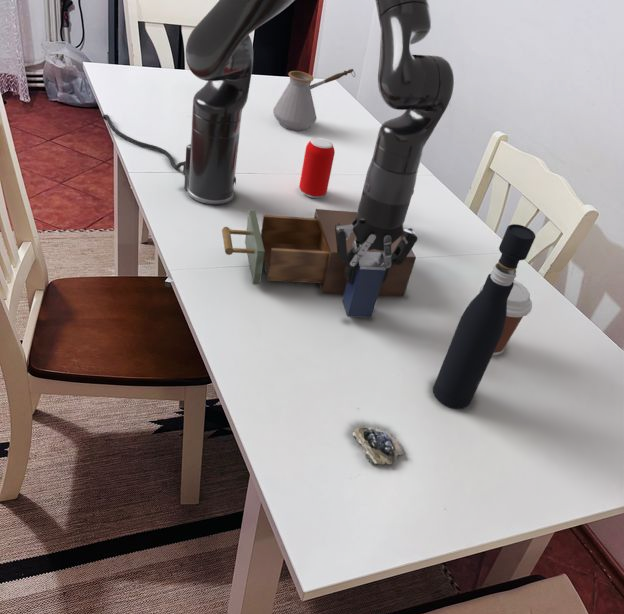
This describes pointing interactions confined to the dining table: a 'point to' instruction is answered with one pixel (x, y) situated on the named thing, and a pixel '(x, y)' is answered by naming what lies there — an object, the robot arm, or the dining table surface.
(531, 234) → the black bottle
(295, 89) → the coffee pot
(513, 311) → the coffee cup
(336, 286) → the cabinet
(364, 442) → the mineral rock
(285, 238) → the drawer
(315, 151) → the beverage can
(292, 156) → the dining table surface
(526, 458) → the dining table surface
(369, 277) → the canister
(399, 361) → the dining table surface
